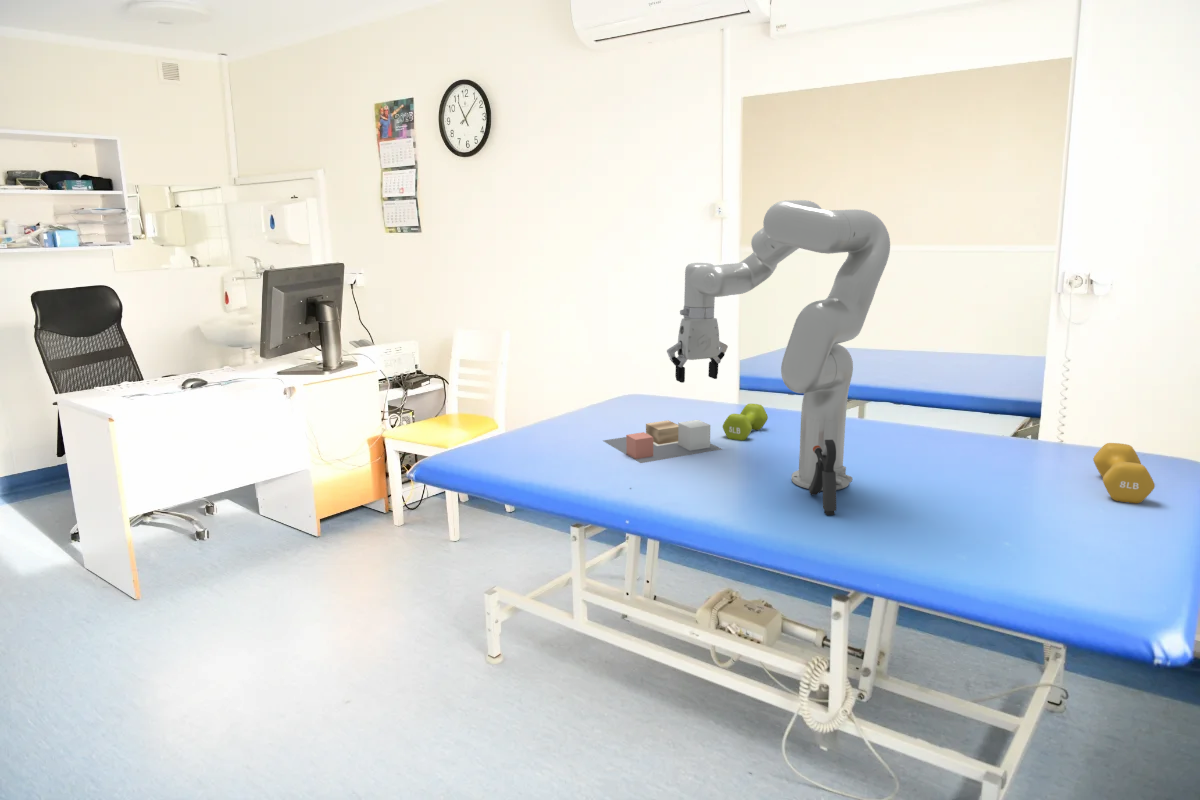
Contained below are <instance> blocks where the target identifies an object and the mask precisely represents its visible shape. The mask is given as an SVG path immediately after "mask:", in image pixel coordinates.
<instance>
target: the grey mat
mask: <svg viewBox="0 0 1200 800" xmlns="http://www.w3.org/2000/svg"><path fill="white" fill-rule="evenodd" d="M602 441H603V442H604V443H605V444H607V445H608V446H611V447H612V448H614V449H616V450H617V451H619V452H621V453H622V454H624V455H626V456H628V457H629V458H631V459H632V460H634V461H636V462H638V463H639V464H643V463H649V462H650V463H651V462H655V461H663V460H668V459H675V458H681V457H686V456H692V455H697V454H703V453H709V452H714V451H721V450H722V451H723V448H721V447H719V446H717V445H715V444H712V443H711V442H710V447H709V448H703V449H697V450H691V451H690V450H688V449H686V448H684V447H682V446H680V445H678V441H677V442H671V443H665V444H657V443H655V442H653V456H651V457H645V458H639V459H635V458H633V457H631V456H630V455H628V454H627V445H626V436H624V437H623V436H622V437H618V438H617V437H616V438H611V439H610V438H609V439H604V440H602Z"/></svg>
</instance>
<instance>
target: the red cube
mask: <svg viewBox="0 0 1200 800" xmlns="http://www.w3.org/2000/svg"><path fill="white" fill-rule="evenodd" d="M625 437H626V445H627V454H628V455H630V456H631V457H633V458H635V459H639V458H645V457H651V456H653V437H652V436H650V435H648V434H646V432H644V431H643V432H636V433H631V434H626V436H625ZM631 457H630V458H631Z"/></svg>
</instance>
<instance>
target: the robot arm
mask: <svg viewBox="0 0 1200 800" xmlns="http://www.w3.org/2000/svg"><path fill="white" fill-rule="evenodd" d="M762 225H763V227H762V228H761V229H759V230H758V231H757V232H755V234H753V236H752V238H751V242H750V243H751V249H752V253H751V254H750V255H748V256H747V257H746V258H744V259H743V260H741V261H739V262H737V263H736V262H735V263H726V264H717V265H714V264H712V263H709V262H693V263H688V264H687V265H686V267H685V271H684V294H683V295H684V297H683V298H684V299H683V301H684V302H683V309H680V311H679V315H680V316H683V318H681V320H680V325H679V328H678V338H677V342H676V344H674V345H673V346H670V347H669V348H668V349H666V353H667V355H668V358H669V360H670V361H671V363H672V364H673V365H674V366H675V381H677V382H679V383H681V384H682V383H685V382H686V380H685V379H686V367H684V365H685V364H686V362H687V361H688V360H689V361H694V360H706V359H707V360H708V359H709V360H710V361H709V362H708V373H707V374H708V375H707V376H708V377H709V378H711V379H713V380H714V379H715V380H717V379H718V375H719V364H721V361H722V360H723V358H724V357H725V353H726V352H727V350H728V346H729V345H727V344H725V343H724V342H722V341H720V331H719V322H718V318H716V317H715V302H716V301H715V299H716V298H722V297H728V296H735V295H742V294H745V293H748V292H751V290H754V289H755V288H757V287H758V286H759V285H761V284H762V283H764V282H765V281H766V280H767V279H769V278H770V277H771V276H772V275H773V273H774V272H775V270H776V269H777V266H778V264H779V263H780V262H782V261H784V260H785V259H787V257H789V256H790V255H792V254H793V253H795V252H796V251H798V250H799V249H802V250H807V251H810V252H814V253H819V254H828V255H829V254H841V253H847V258H846V259H845V261H844V262H843V263H842V265H841V267H839V269H838V271H837V274H836V276H835V279H834V282H833V285H832V287H831V290H830V292H829V294H828V296H827V297H826V298H825V299H819V300H815V301H814V302H811V303H809V304H807V305H805V306H804V308H802V310H801V311H800V312H799V314H798V315H797V317H796V319H795V322H794V324H793V328H792V330H791V332H790V337H789V338H788V339H789V340H788V342H787V344H786V349H785V351H784V354H783V357H782V362H781V368H780V371H781V372H780V374H781V375H780V376H781V379H782V381H783V384H784V385H785V387H787V389H788V390H789V391H791V392H794V393H797V394H803V397H802V401H801V414H800V435H799V436H800V437H799V454H798V455H799V456H798V460H799V461H798V469H797V470H795V471H794V472H792V474H791V481H792V483H793V484H794V485H796V486H798V487H801V488H804V489H808V490H809V487H810V485H811V483H812V480H813V477H814V474H815V468H816V463H817V462H818V458H817V455H816V454H815V453H814V451H813V447H814V446H817V445H818V446H820V447H821V449H822V451H823V449H824V447H825V440H833V441H834V443H835V446H836V460H835V463H834V471H835V472H836V491H839V490H842V489H845V488H847V487H849V485H850V483H852V481H853V477H852V476H851V475H848V474H846V473H847V472H846V471H847V467H846V466H845V465H844V457H845V456H844V453H845V439H846V438H845V433H846V417H847V403H848V396H849V390H850V386H851V381H852V377H853V371H854V362H853V358H852V355H851V353H850V352H849V351H848V349H847V348H846V347H845V346H843V345H841V344H843V343H846V342H849V341H852V340H854V339H855V338H857V336H859V334H860V333H861V332H862V329H863V326H864V323H865V321H866V318H867V315H868V313H869V311H870V307H871V306H872V302H873V300H874V296H875V294H876V290H877V288H878V285H879V284H880V283H879V282H880V281H881V278H882V276H883V274H884V271H885V268H886V266H887V263H888V261H889V258H890V251H891V238H890V233H889V231H888V228H887V227H886V225H885V224H884V222H883V221H882V220H881V218H880V217H879V216H877V215H876V214H874V213H872V212H870V211H867V210H864V209H832V210H831V209H823V208H822V207H821V206H819V204H818V203H816V202H814V201H811V200H804V199H802V200H801V199H799V200H797V199H796V200H795V199H793V200H789V199H788V200H781V201H778V202H776V203H774V204H773V205H771V206H770V207H769V209H768V210H767V211H766V213H765V214H764V217H763V224H762ZM676 352H677V356H676ZM826 455H827V454H826ZM821 492H823V487H822V490H821Z"/></svg>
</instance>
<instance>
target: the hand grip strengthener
mask: <svg viewBox="0 0 1200 800" xmlns="http://www.w3.org/2000/svg"><path fill="white" fill-rule="evenodd" d="M813 451H814V453H815V454H816V455H817V458H818V462H817V463H816V468H815V474H814V477H813V480H812V483H811V485H810V487H809V489H808V492H809V494H810V496H817V495H818V494H820V493H821V492H822V509H823V511H824V514H825V515H826V516H835V514H836V513H835V512H837V490H836V472H835V471H834V463H835V460H836V446H835V443H834V441H833V440H825V447H824V449H823V451H822V449H821V447H820V446H818V445H817V446H814V447H813ZM826 454H827V455H826ZM822 487H823V491H821V490H822Z"/></svg>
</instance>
